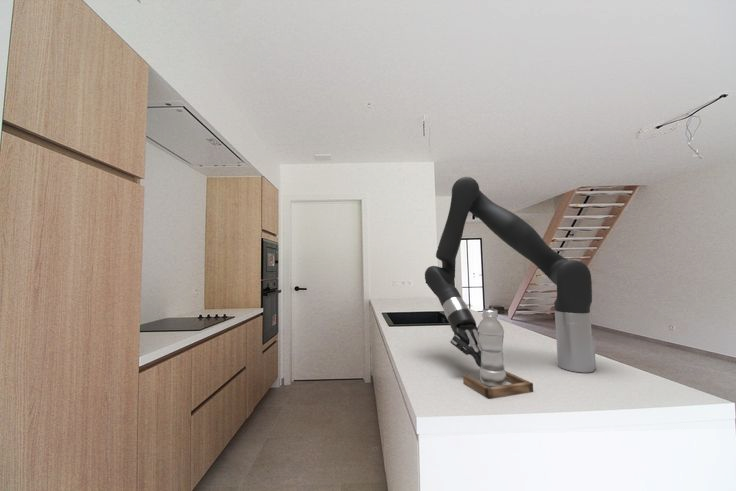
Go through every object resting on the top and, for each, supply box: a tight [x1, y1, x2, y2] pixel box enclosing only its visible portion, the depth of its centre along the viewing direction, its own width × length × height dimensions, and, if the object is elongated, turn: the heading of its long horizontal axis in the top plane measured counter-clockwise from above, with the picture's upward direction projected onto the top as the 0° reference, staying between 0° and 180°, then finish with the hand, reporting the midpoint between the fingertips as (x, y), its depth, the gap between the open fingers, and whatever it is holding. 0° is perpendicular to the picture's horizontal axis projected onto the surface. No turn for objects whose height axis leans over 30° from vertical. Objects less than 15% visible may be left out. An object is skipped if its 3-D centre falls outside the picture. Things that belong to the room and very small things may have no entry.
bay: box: [462, 370, 534, 399], centre depth 78 cm, size 13×10×2 cm
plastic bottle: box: [477, 308, 508, 388], centre depth 80 cm, size 6×7×20 cm
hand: (484, 366), depth 83 cm, fingers closed
